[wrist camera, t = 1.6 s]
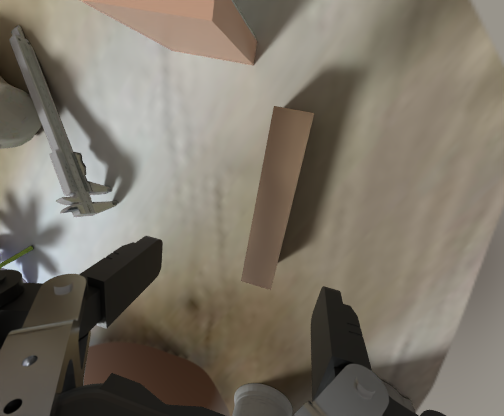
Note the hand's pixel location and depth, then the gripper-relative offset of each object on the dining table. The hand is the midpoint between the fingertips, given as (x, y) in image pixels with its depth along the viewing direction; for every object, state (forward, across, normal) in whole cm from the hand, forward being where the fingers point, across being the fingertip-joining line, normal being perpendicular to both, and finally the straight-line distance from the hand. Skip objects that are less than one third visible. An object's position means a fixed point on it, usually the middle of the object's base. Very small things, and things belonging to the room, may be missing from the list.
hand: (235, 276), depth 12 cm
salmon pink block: (+15, +8, -12) cm, 21 cm away
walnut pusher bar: (+15, 0, 0) cm, 15 cm away
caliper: (+15, +24, -2) cm, 29 cm away
